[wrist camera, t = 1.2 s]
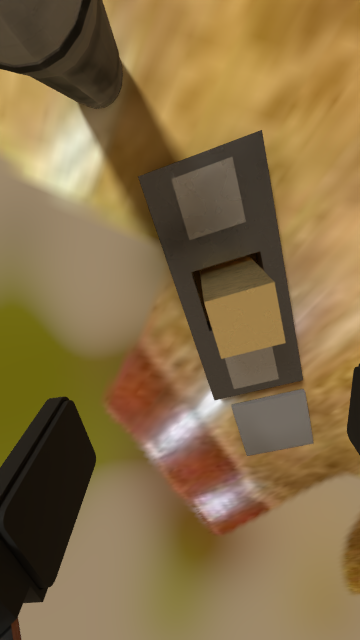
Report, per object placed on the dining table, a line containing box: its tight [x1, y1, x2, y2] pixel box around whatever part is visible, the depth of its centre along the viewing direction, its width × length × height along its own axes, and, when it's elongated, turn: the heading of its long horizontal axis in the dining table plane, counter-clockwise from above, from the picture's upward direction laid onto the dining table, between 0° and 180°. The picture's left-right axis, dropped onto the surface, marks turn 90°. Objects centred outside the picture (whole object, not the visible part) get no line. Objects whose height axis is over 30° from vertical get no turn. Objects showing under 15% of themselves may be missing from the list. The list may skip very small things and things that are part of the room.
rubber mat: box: [231, 389, 313, 456], centre depth 35 cm, size 9×9×1 cm
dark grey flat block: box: [138, 130, 303, 400], centre depth 27 cm, size 10×24×3 cm, turn 18°
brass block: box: [200, 255, 286, 359], centre depth 24 cm, size 5×5×9 cm
